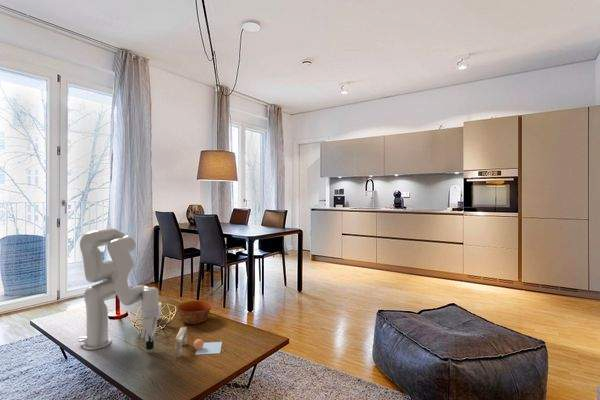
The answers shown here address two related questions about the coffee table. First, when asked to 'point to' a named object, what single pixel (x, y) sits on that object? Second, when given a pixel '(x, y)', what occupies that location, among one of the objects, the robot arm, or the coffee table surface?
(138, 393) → the coffee table surface
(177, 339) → the bridge
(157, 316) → the white cup
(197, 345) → the ball
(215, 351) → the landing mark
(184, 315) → the bowl
